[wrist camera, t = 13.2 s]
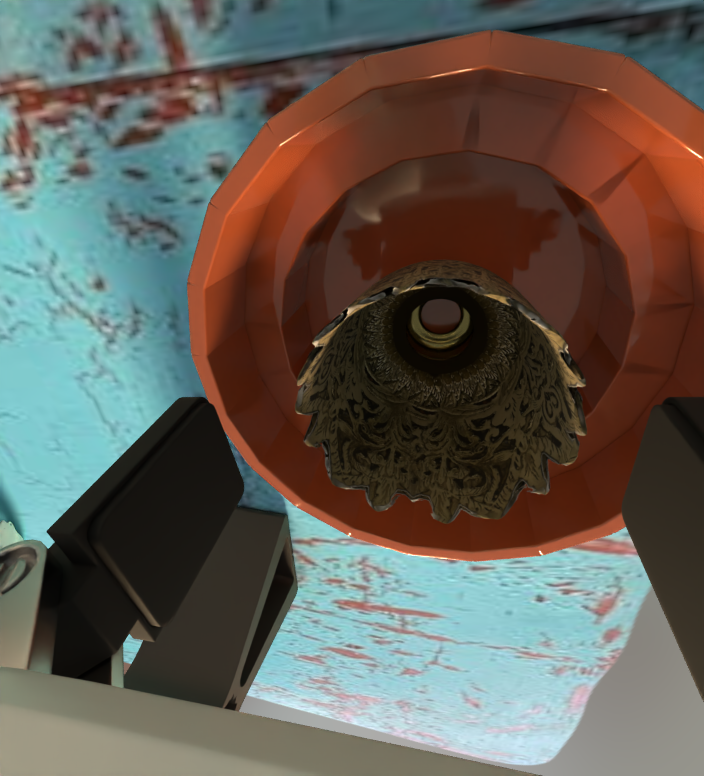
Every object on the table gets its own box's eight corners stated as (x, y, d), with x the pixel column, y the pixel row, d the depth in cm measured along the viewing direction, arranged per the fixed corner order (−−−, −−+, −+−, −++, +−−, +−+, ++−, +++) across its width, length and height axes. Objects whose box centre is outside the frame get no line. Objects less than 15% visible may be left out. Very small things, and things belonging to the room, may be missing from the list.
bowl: (224, 121, 15) (99, 112, 10) (730, 25, 11) (975, -76, 6) (304, 447, 24) (258, 538, 18) (615, 461, 19) (675, 585, 14)
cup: (565, 235, 14) (655, 318, 8) (506, 402, 18) (533, 550, 12) (362, 210, 15) (291, 265, 9) (349, 373, 19) (293, 494, 13)
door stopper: (298, 589, 32) (225, 794, 22) (229, 574, 33) (130, 762, 23) (287, 513, 27) (189, 729, 17) (207, 498, 28) (71, 693, 18)
